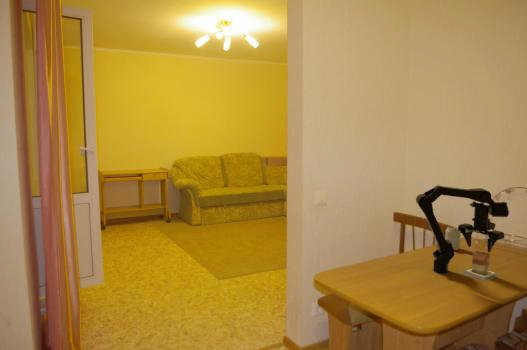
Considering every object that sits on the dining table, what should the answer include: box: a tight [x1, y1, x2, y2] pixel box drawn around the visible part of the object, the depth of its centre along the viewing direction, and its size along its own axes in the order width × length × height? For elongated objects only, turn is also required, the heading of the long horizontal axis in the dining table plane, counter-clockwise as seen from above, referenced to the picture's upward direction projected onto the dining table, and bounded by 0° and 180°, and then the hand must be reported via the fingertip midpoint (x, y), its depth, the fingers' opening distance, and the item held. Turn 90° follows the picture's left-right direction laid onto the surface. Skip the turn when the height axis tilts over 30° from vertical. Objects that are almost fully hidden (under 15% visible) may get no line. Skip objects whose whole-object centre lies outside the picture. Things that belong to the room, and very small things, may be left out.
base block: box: [471, 262, 490, 276], centre depth 178 cm, size 5×5×5 cm
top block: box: [471, 250, 491, 266], centre depth 178 cm, size 5×5×5 cm
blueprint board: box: [460, 267, 501, 282], centre depth 179 cm, size 12×12×2 cm
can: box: [444, 226, 461, 251], centre depth 216 cm, size 8×8×12 cm
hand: (479, 249), depth 178 cm, fingers open, 9 cm apart
